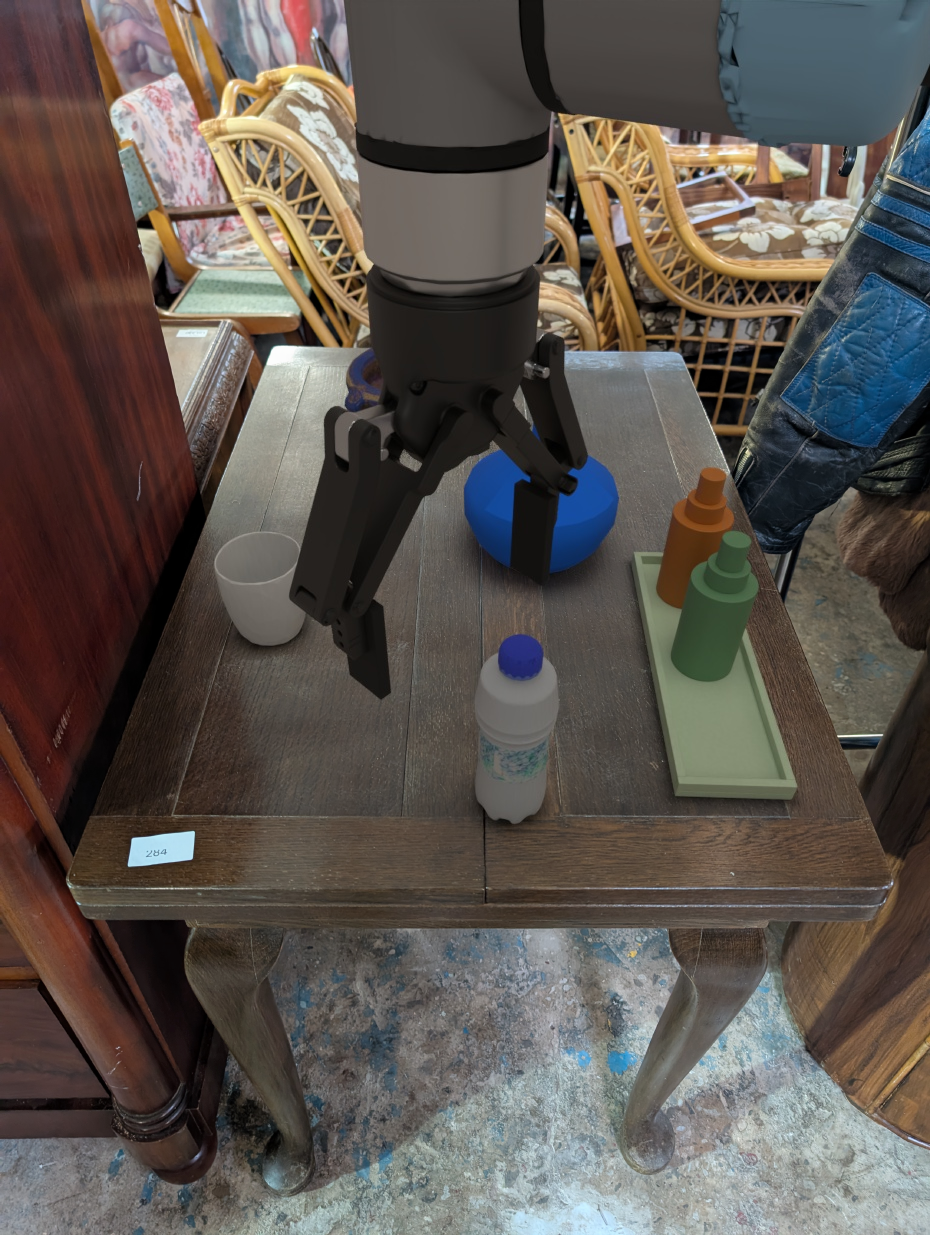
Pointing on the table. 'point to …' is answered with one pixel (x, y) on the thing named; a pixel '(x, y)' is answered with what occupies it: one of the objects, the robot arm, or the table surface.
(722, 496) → the amber bottle
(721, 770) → the tray
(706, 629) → the green bottle
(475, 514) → the vase
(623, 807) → the table surface
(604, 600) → the table surface
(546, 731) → the bottle
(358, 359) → the bowl
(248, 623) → the mug
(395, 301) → the robot arm
